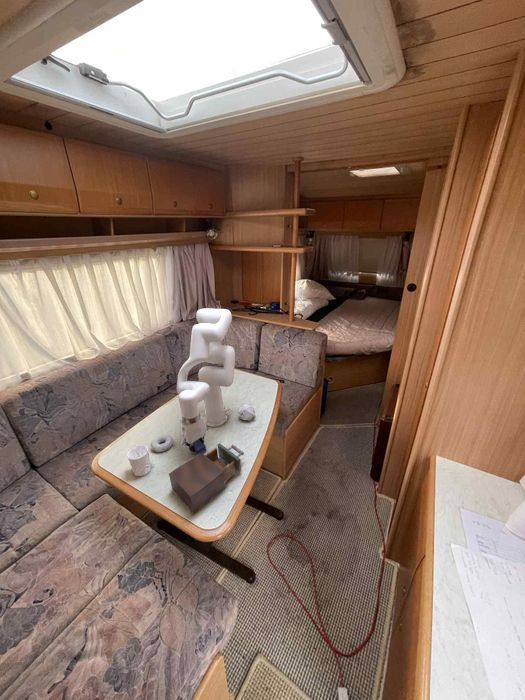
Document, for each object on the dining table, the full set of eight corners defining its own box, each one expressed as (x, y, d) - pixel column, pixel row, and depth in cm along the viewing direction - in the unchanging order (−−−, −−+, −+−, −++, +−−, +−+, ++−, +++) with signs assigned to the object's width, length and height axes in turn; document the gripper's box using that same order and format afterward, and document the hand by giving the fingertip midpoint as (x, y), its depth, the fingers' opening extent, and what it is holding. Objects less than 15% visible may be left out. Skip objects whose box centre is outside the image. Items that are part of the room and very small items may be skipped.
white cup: (140, 480, 112) (135, 462, 108) (128, 472, 116) (123, 454, 112) (156, 467, 118) (151, 449, 114) (144, 460, 122) (140, 442, 118)
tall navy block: (188, 446, 128) (187, 441, 126) (196, 441, 130) (195, 436, 129) (198, 455, 122) (197, 450, 121) (206, 450, 125) (205, 445, 124)
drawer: (229, 449, 125) (228, 437, 122) (249, 464, 116) (249, 452, 114) (195, 473, 113) (192, 460, 110) (215, 492, 104) (213, 479, 102)
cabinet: (203, 467, 117) (201, 452, 113) (225, 487, 107) (223, 471, 104) (172, 489, 107) (168, 473, 104) (193, 514, 98) (190, 497, 94)
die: (237, 415, 150) (233, 410, 142) (248, 403, 153) (245, 397, 144) (247, 426, 147) (244, 421, 138) (259, 413, 149) (256, 408, 141)
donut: (164, 455, 124) (177, 440, 132) (163, 450, 122) (176, 435, 131) (147, 451, 127) (160, 436, 136) (145, 445, 126) (159, 431, 134)
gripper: (178, 430, 111) (185, 463, 119) (212, 411, 122) (216, 442, 129) (169, 422, 115) (176, 454, 123) (202, 404, 126) (207, 434, 134)
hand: (197, 447), depth 126 cm, fingers closed on tall navy block, 4 cm apart
